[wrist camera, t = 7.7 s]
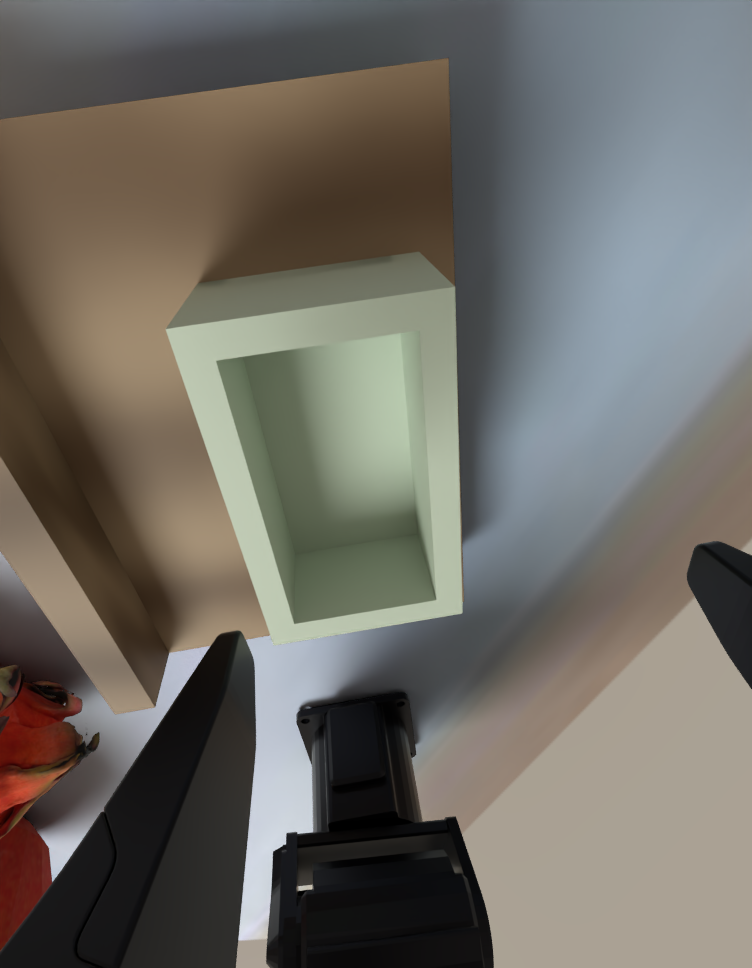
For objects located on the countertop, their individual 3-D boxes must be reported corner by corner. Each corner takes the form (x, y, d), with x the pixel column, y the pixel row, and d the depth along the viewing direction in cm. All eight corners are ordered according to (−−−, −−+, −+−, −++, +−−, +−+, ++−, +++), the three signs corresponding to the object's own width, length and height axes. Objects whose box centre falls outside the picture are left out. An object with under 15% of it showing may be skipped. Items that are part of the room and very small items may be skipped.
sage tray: (435, 533, 20) (462, 613, 16) (278, 559, 19) (274, 645, 16) (419, 251, 14) (454, 287, 11) (197, 283, 14) (165, 329, 11)
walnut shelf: (447, 554, 24) (480, 649, 20) (150, 605, 24) (115, 714, 19) (423, 71, 14) (479, 41, 10) (-93, 142, 14) (-285, 145, 9)
